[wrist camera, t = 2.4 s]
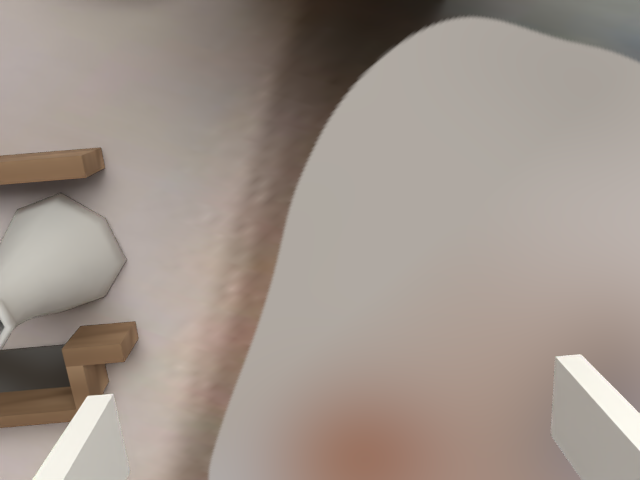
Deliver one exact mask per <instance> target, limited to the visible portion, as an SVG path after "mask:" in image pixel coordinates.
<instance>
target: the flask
mask: <svg viewBox="0 0 640 480" xmlns="http://www.w3.org/2000/svg"><path fill="white" fill-rule="evenodd" d="M125 261H126V258H125V256H124V254H123V253H122V251H121V249H120V247H119V245H118V243H117V241H116V239H115V237H114V235H113V233H112V231H111V229H110V227H109V225H108V223H107V221H106V219H105V218H104V217H102V216H100V215H99V214H97V213H95V212H93V211H92V210H90V209H88V208H86V207H85V206H83V205H81V204H79V203H78V202H76V201H74V200H72V199H71V198H69V197H67V196H65V195H64V194H62V193H60V194H57V195H54V196H52V197H49V198H46V199H44V200H41V201H38V202H36V203H33V204H30V205H28V206H25V207H23V208H20V209H17V211H16V213H15V215H14V217H13V219H12V221H11V223H10V225H9V227H8V229H7V231H6V233H5V234H4V236H3V238H2V240H1V242H0V350H1V349H2V348H3V347H4V345H5V343H6V341H7V339H8V338H9V336H10V334H11V332H12V330H13V329H14V328H15V327H16V326H18V325H19V324H21V323H23V322H25V321H27V320H29V319H31V318H34V317H38V316H42V315H48V314H54V313H59V312H62V311H66V310H68V309H71V308H74V307H77V306H80V305H82V304H85V303H88V302H91V301H93V300H96V299H99V298H102V297H104V296H106V294H107V292H108V291H109V289H110V287H111V285H112V284H113V282H114V280H115V279H116V277H117V275H118V273H119V272H120V270H121V268H122V267H123V265H124V263H125Z"/></svg>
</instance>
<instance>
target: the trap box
mask: <svg viewBox="0 0 640 480" xmlns="http://www.w3.org/2000/svg"><path fill="white" fill-rule="evenodd" d="M104 168H105V166H104V160H103V155H102V150H101V148H90V149H77V150H65V151H53V152H40V153H28V154H15V155H3V156H0V185H3V184H16V183H28V182H40V181H52V180H65V179H77V178H87V177H89V176H90V175H92V174H94V173H96V172H98V171H100V170H102V169H104ZM137 340H138V333H137V328H136V323H135V322H124V323H112V324H100V325H89V326H80V328H79V329H78V330H77V331H76V332H75V334H74V335H73V336H72V337H71V338H70V340H69V341H68V342H67V343H66V344H65V345H53V346H42V347H30V348H19V349H7V350H0V428H4V427H16V426H27V425H38V424H50V423H61V422H71V420H72V419H73V417H74V416H75V414H76V413H77V411H78V410H79V408H80V407H81V405H82V404H83V402H84V401H85V399H86V397H87V396H93V395H103V393H104V392H103V391H104V389H105V387H106V386H107V384H108V382H109V380H108V375H107V371H106V366H105V364H106V363H117V362H125V360H126V358H127V357H128V355H129V353H130V352H131V350H132V348H133V347H134V345H135V343H136V342H137Z"/></svg>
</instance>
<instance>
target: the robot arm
mask: <svg viewBox="0 0 640 480" xmlns="http://www.w3.org/2000/svg"><path fill="white" fill-rule="evenodd" d="M553 389H554V390H553V404H552V422H551V436H552V438H553V439H554V441H555V442H556V444H557V445H558V446H559V448H560V449H561V451H562V452H563V454H564V455H565V457H566V458H567V459H568V461H569V462H570V464H571V465H572V467H573V468H574V470H575V471H576V473H577V474H578V476H579V477H580V478H581V480H640V414H639V413H638V412H637V411H636V410H635V409H634V407H633V406H631V405H630V403H629V402H628V401H627V400H626V399H625V398H624V397H623V396H622V395H621V394H620V393H619V392H618V391H617V390H616V389H615V388H614V387H613V386H612V385H611V384H610V383H609V382H607V380H606V379H605V378H604V377H603V376H601V374H600V373H599V372H598V371H597V370H596V369H595V368H594V367H593V366H592V365H591V364H590V363H589V362H588V361H587V360H586V359H585V358H584V357H583V356H582V355H568V356H556V357H555V371H554V388H553ZM129 473H130V468H129V463H128V458H127V454H126V449H125V445H124V440H123V435H122V431H121V426H120V422H119V417H118V412H117V408H116V403H115V398H114V394H105V395H93V396H87V397H86V399H85V401H84V402H83V404H82V405H81V407H80V408H79V410H78V411H77V413H76V414H75V416H74V417H73V419H72V420H71V422H70V423H69V425H68V426H67V428H66V429H65V431H64V432H63V434H62V435H61V437H60V438H59V440H58V441H57V443H56V444H55V446H54V448H53V449H52V451H51V452H50V454H49V455H48V457H47V458H46V460H45V461H44V463H43V464H42V466H41V467H40V469H39V470H38V472H37V473H36V475H35V476H34V478H33V479H32V480H127V477H128V475H129Z"/></svg>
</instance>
